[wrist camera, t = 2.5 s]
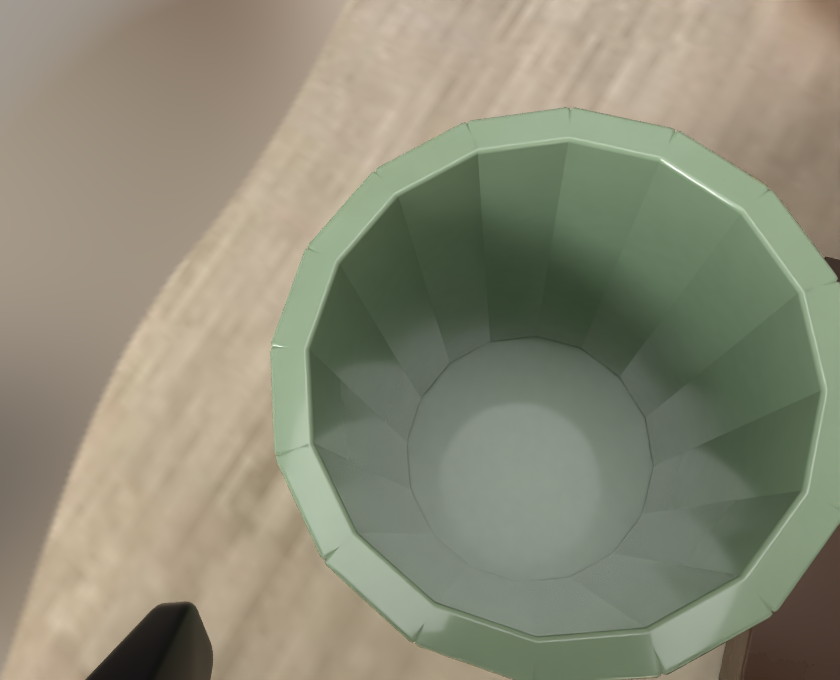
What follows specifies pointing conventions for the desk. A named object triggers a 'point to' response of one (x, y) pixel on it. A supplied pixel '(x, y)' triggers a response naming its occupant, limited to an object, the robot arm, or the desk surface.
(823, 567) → the walnut board
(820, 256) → the pencil cup
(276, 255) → the desk surface
